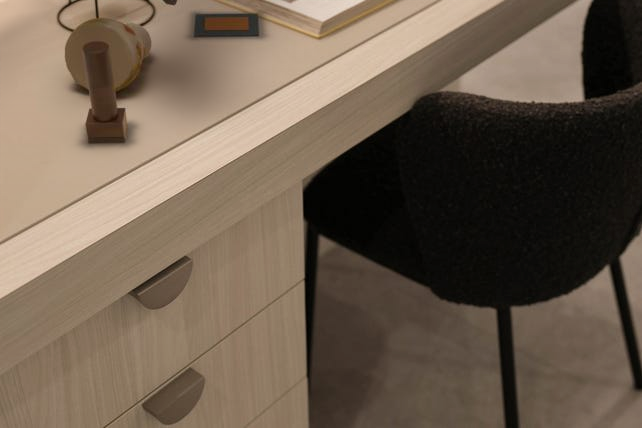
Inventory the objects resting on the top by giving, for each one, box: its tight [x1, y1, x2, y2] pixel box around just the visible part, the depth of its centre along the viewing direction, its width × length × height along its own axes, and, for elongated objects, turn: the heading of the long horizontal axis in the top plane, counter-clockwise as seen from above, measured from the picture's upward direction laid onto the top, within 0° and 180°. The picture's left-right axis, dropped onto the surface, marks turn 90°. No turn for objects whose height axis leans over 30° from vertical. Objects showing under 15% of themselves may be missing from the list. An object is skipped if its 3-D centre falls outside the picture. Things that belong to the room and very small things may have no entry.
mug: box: [64, 17, 153, 93], centre depth 85 cm, size 8×10×10 cm
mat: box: [193, 13, 260, 38], centre depth 96 cm, size 7×5×1 cm
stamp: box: [82, 41, 129, 144], centre depth 75 cm, size 3×3×9 cm
